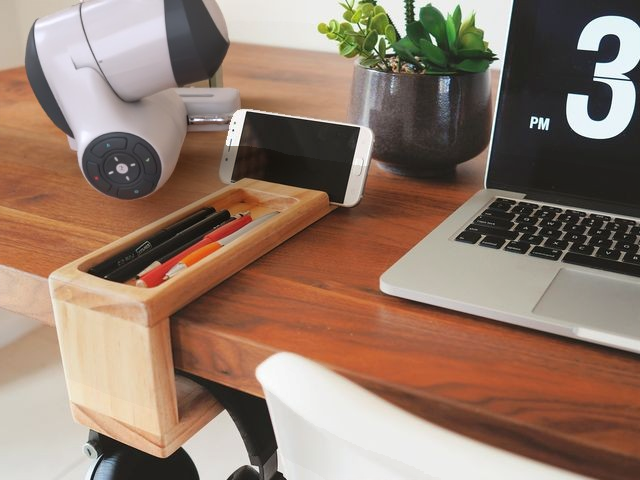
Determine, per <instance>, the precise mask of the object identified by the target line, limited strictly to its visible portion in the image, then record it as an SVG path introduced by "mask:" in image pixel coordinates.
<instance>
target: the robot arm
mask: <svg viewBox="0 0 640 480" xmlns="http://www.w3.org/2000/svg"><path fill="white" fill-rule="evenodd" d="M230 45H231V41H230V37H229V30H228V26H227V23H226V19H225V16H224V14H223V12H222V10H221V7H220V6H219V4H218V2H217V1H216V0H86V1H84V2H82V3H81V2H78V3H76V4H73V5H70V6H67V7H64V8H61V9H60V10H57V11H54V12H52V13H50V14H49V13H48V14H47V15H44V16H42V17H40V18H39V17H38V18H36V19H35V20H34V22H33V23H32V25H31V27H30V29H29V32H28V35H27V39H26V45H25V53H24V69H25V74H26V78H27V81H28V83H29V85H30V88H31V90H32V92H33V94H34V96H35V98H36V100H37V103H38V104H39V106H40V107H41V108H42V110H43V111H44V113H45V114H46V116H47V117H48V118H49V120H50V121H51V122H52V123H53V124H54V126H55V127H56V128H57V129H59V130H61V132H63V133H64V134H65V135H66V138H67V142H68V145H69V148H70V150H72V151H74V152H76V155H77V156H76V157H77V162H78V166H79V169H80V172H81V174H82V175H83V177H84V179H85V180H86V182H87V183H88V184H89V185H90V187H92V188H93V189H94V190H95V191H96V192H98V193H100V194H101V195H104V196H106V197H109V198H111V199H115V200H122V201H135V200H140V199H141V200H142V199H145V198H147V197H150V196H151V195H153V194H155V193H156V192H157V191H159V189H161V188H162V187H163V186H164V185H165V184H166V183H167V182H168V180H169V179H170V177H171V176H172V175H173V172H174V170H175V168H176V166H177V163H178V162H179V158H180V154H181V150H182V148H183V145H184V142H185V139H186V137H187V133H188V132H225V131H229V130H230V129H229V125H230V122H231V119H232V117H233V114H234V113H235V112H236V111H237V110H240V109H241V110H242V100H241V90H239V89H238V88H234V87H223V88H195V86H184V85H188V84H192V83H195V82H199V81H203V80H207V79H211V78H212V77H213V76H214V75H215V73H216V72H217V71H218V69H219V67H220V66H221V64H222V65H223V62H224V60H225V57H226V56H227V54H228V51H229V49H230ZM175 86H178V87H180V86H183V88H172V87H175Z"/></svg>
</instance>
